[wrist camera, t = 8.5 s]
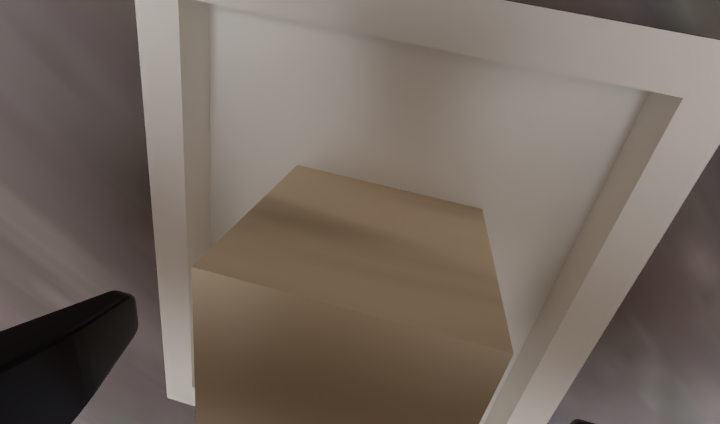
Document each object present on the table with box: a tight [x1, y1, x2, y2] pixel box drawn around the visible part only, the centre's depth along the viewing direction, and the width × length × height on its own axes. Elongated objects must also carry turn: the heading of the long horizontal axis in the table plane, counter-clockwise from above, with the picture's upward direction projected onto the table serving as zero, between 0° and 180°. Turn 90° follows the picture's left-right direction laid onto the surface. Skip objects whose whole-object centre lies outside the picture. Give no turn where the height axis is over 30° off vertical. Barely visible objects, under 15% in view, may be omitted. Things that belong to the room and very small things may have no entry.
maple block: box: [191, 165, 514, 424], centre depth 9 cm, size 5×5×5 cm
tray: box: [135, 0, 720, 424], centre depth 11 cm, size 14×12×2 cm
